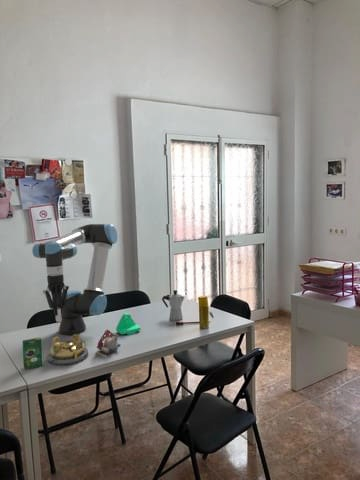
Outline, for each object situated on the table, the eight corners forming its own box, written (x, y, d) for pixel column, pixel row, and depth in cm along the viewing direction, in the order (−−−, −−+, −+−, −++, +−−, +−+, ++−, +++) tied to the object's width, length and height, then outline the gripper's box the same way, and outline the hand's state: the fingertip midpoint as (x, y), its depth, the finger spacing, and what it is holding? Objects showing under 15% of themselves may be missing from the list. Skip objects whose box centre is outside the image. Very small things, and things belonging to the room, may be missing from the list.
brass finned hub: (70, 361, 178) (69, 347, 177) (43, 356, 184) (42, 343, 183) (91, 348, 192) (90, 336, 191) (65, 344, 199) (65, 332, 198)
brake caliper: (109, 339, 203) (116, 325, 197) (120, 356, 198) (127, 342, 192) (90, 346, 195) (97, 331, 189) (101, 363, 190) (108, 349, 184)
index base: (38, 360, 185) (38, 350, 185) (69, 346, 201) (68, 337, 201) (66, 368, 175) (66, 358, 175) (96, 353, 191) (95, 344, 191)
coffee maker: (186, 316, 247) (186, 288, 245) (185, 320, 238) (184, 292, 236) (163, 316, 249) (162, 288, 247) (161, 320, 240) (160, 292, 238)
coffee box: (42, 363, 182) (40, 336, 180) (43, 365, 179) (41, 338, 178) (23, 367, 178) (21, 340, 176) (24, 370, 175) (22, 342, 174)
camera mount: (121, 336, 215) (120, 318, 214) (116, 332, 222) (115, 315, 220) (141, 331, 222) (140, 314, 220) (135, 328, 228) (134, 311, 227)
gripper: (46, 277, 181) (50, 326, 184) (71, 272, 191) (74, 319, 194) (38, 275, 186) (42, 323, 189) (62, 271, 196) (66, 316, 199)
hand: (58, 321), depth 192 cm, fingers closed
